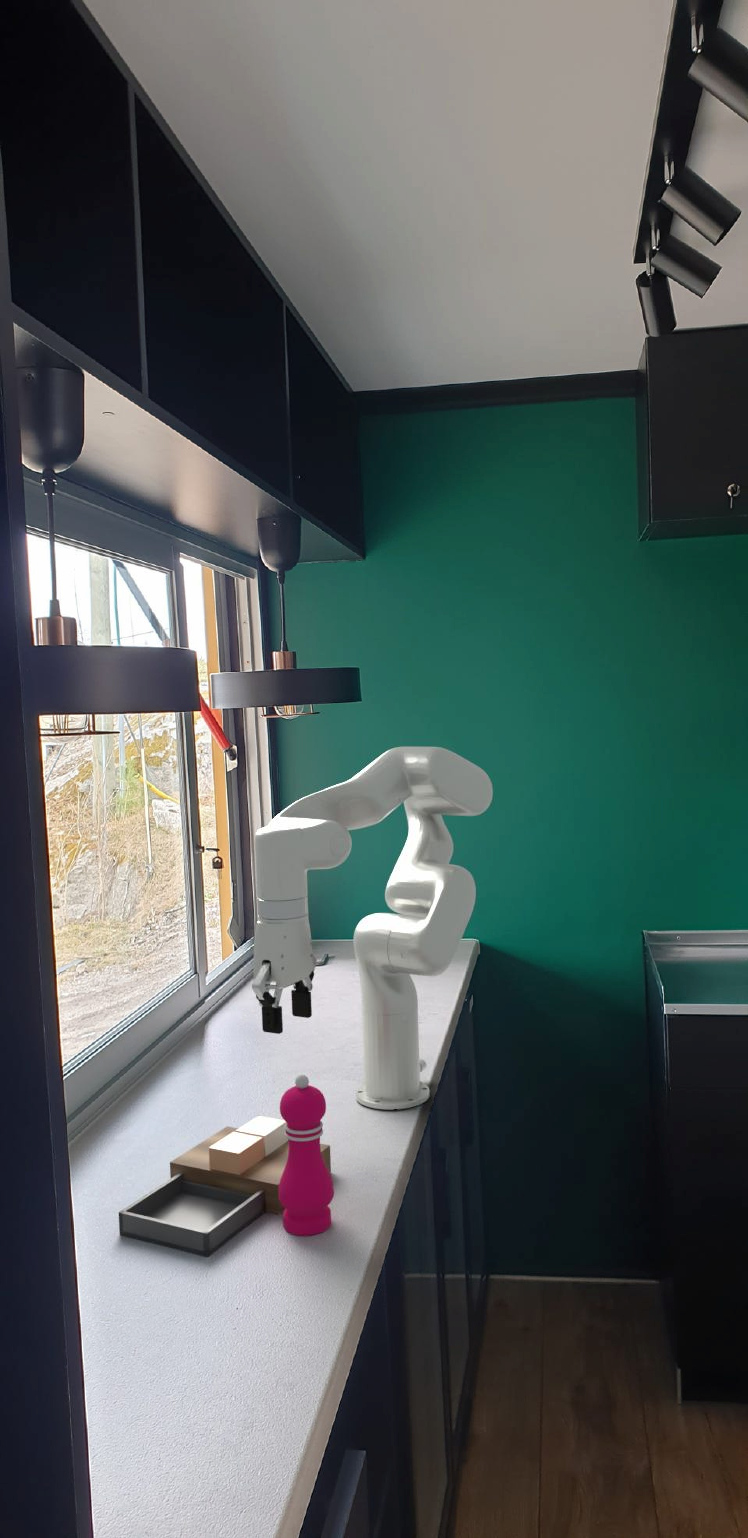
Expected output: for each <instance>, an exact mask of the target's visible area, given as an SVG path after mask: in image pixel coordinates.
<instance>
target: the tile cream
mask: <svg viewBox="0 0 748 1538" xmlns="http://www.w3.org/2000/svg"><path fill="white" fill-rule="evenodd" d="M286 1123H287V1122H286V1121H285V1120H284V1119H279V1118H273V1117H268V1116H263V1115H262V1116H261V1115H258V1116H256V1117H255V1118H252V1119H251V1120H250V1121H248V1122H247V1123H245V1124H244V1125H241V1126H240V1127H238V1128H239V1129H237V1130H236V1132H237V1133H243V1134H248V1135H253V1136H259V1137H263V1152H264V1156H265V1157H266V1156H267V1155H269V1154H270V1153H271V1152H273V1151H274V1150H276V1149H277V1148H279V1147H280V1146H281V1145H283V1144H284V1143H286V1142H287V1141H288V1138H286V1136H285V1128H284V1126H285V1124H286Z"/></svg>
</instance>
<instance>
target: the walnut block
mask: <svg viewBox="0 0 748 1538" xmlns="http://www.w3.org/2000/svg"><path fill="white" fill-rule="evenodd" d="M239 1128H240V1127H233V1126H226V1127H224V1128H223V1129H221V1130H219V1131H217V1132H216V1133H214V1134H212V1135H211V1136H210V1137H207V1138H206V1139H205V1140H203V1141H202V1142H200V1143H198V1144H196V1145H195V1146H193V1147H192V1148H190V1149H189V1150H186V1151H185V1152H183V1153H182V1154H181V1155H179V1156H177V1157H176V1158H174V1159H173V1160H171V1161H170V1162H169V1166H170V1167H169V1176H170V1179H171V1178H172V1177H174V1176H176V1175H177V1174H179V1173H180V1172H181V1173H184V1180H186V1181H190V1182H195V1183H200V1184H204V1185H209V1186H213V1187H218V1188H223V1189H227V1190H232V1191H237V1192H241V1193H246V1194H250V1195H254V1194H255V1193H257V1192H258V1191H259V1190H264V1192H265V1212H269V1213H273V1214H278V1215H280V1214H281V1213H283V1212H284V1210H285V1209H286V1208H285V1207H284V1206H283V1205H282V1204H281V1202H280V1201H279V1184H280V1179H281V1177H282V1174H283V1171H284V1169H285V1166H286V1163H287V1158H288V1152H289V1143H288V1141H287V1142H286V1143H284V1144H283V1145H281V1146H280V1147H279V1148H277V1149H276V1150H274V1151H273V1152H271V1153H270V1154H269V1155H267V1156H266V1157H265V1156H264V1158H263V1159H262V1160H260V1161H259V1162H257V1163H256V1164H254V1165H253V1166H252V1167H250V1168H249V1169H247V1170H246V1171H245V1172H243V1173H242V1174H240V1175H237V1174H233V1173H228V1172H223V1171H218V1170H213V1169H210V1165H209V1147H211V1146H212V1145H214V1144H215V1143H217V1142H218V1141H220V1140H222V1139H223V1138H225V1137H226V1136H228V1135H229V1134H231V1133H232V1132H236V1130H237V1129H239ZM320 1148H321V1154H322V1158H323V1160H324V1163H325V1165H326V1167H327V1169H328V1171H329V1173H330V1172H331V1173H332V1165H331V1164H332V1163H331V1145H330V1144H325V1143H320ZM331 1173H330V1174H331Z"/></svg>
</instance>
